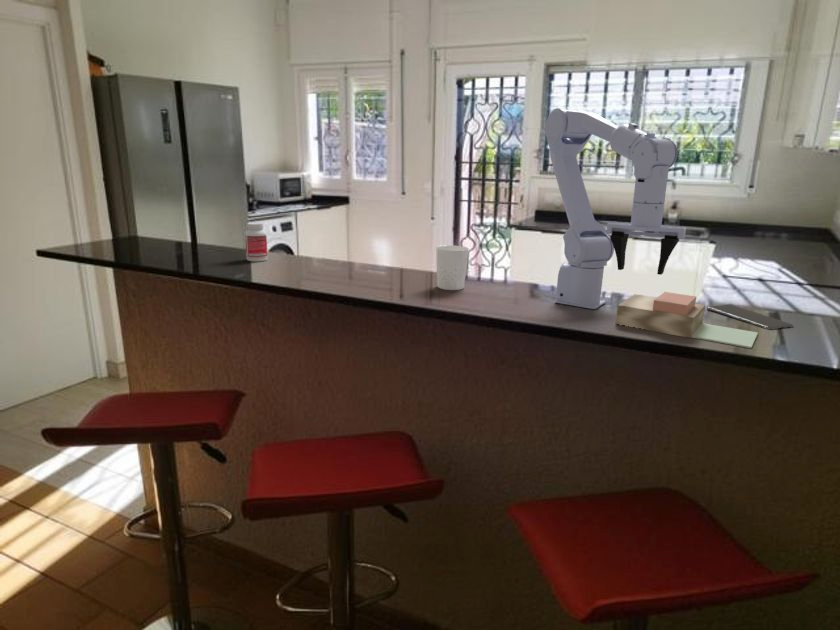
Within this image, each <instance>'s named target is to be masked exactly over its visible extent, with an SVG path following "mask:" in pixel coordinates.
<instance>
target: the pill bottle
mask: <svg viewBox="0 0 840 630" xmlns="http://www.w3.org/2000/svg"><path fill="white" fill-rule="evenodd" d="M264 227H265V225H264V222H247V224H246V228H247V230H246V231H245V234H244V240H245V257H246V260H247V261H249V262H252V263H253V262H255V263H256V262H258V263H259V262H265V261H267V260H268V239H267V236H268V235H267V232H266V231H265V230H264Z"/></svg>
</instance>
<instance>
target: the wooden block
mask: <svg viewBox="0 0 840 630" xmlns="http://www.w3.org/2000/svg"><path fill="white" fill-rule="evenodd" d="M656 298H657V297H655V296H649V295H641V294H633V295H631V296H630V297H628V298H626V299H625V300H624V301H622V302H621V303H619V304H617V309H616V317H615V325H617V324H619V326H622V325H625V326H624V327H628V326H629V327H630V328H633V327H635V328H634V329H639V328H641V329H640V330H644V329H646V330H645V331H650V332H656V333H662V334H667V335H673V336H678V337H683V338H689V339H691V338H692V337H691V336H692V334H693V333H694V332H695V331H696V330H697V328H698V327H699V326H700V325H701V324H702V323H704V322H703V321H704V316H705V311H706V304H702V303H701V304H700V303H695V307H694V308H693V309H692V310H691V311H690V312H689V313H688V314H687V315H686V316H685V315H679V314H673V313H667V312H661V311H655V310H653V303H654V300H655V299H656Z"/></svg>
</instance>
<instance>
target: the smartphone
mask: <svg viewBox="0 0 840 630" xmlns="http://www.w3.org/2000/svg"><path fill="white" fill-rule="evenodd" d="M706 309H707V310H708V312H709V311H710V312H712V313H716V314H718V315H722V316H724V317H727V318H730V319H734V320H737V321H740V322H743V323H746V324H749V325H753V326H756V327H759V328H762V329H765V328H766V330H769V329H773V330H778V329H777V328H781V329H788V328H787V327H791V328H794V324H792V323H790V322H786V321H784V320H780V319H779V318H778V319H777V318H775V317H770V316H768V315H765V314H761V313H759V312H755V311H752V310H748V309H746V308H743V307H740V306H736V305H733V304H718V305H710V306H707V307H706ZM782 327H783V328H782Z"/></svg>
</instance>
